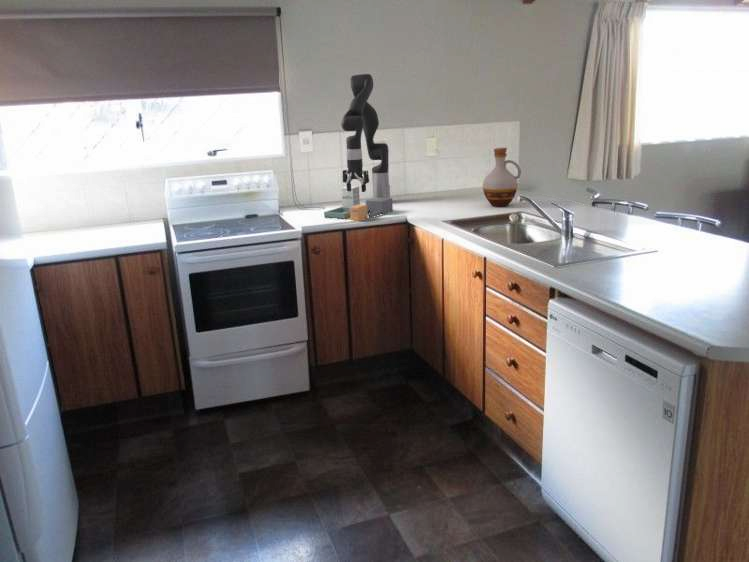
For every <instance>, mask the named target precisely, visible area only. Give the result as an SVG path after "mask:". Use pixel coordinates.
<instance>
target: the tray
mask: <svg viewBox="0 0 749 562" xmlns="http://www.w3.org/2000/svg"><path fill="white" fill-rule="evenodd" d="M349 210H350V207H342V206H340V207H336V208H333V209H331V210H327V211H326V210H325V211H324V212H323V216H324V217H325V218H324V219H332V218H337V219H336V220H344V219H345V220H347V218H348V219H350V211H349Z"/></svg>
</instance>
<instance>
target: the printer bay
mask: <svg viewBox="0 0 749 562" xmlns="http://www.w3.org/2000/svg"><path fill="white" fill-rule="evenodd" d="M365 205H367V214H368V219H369V218H371V219H373V218H372V217H374V216H377V215H380V214H384V215H386V214H385V213H387V214H389V213H388V212H390V213H392V212H391V211H393V209H394V208H393V207H394V206H393V197H392V198H391V197H390V198H380V197H376V198H373V197H372V198H370V199H366V200H365ZM369 213H370V214H369ZM380 216H381V215H380ZM377 217H378V216H377ZM374 218H375V217H374Z"/></svg>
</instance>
